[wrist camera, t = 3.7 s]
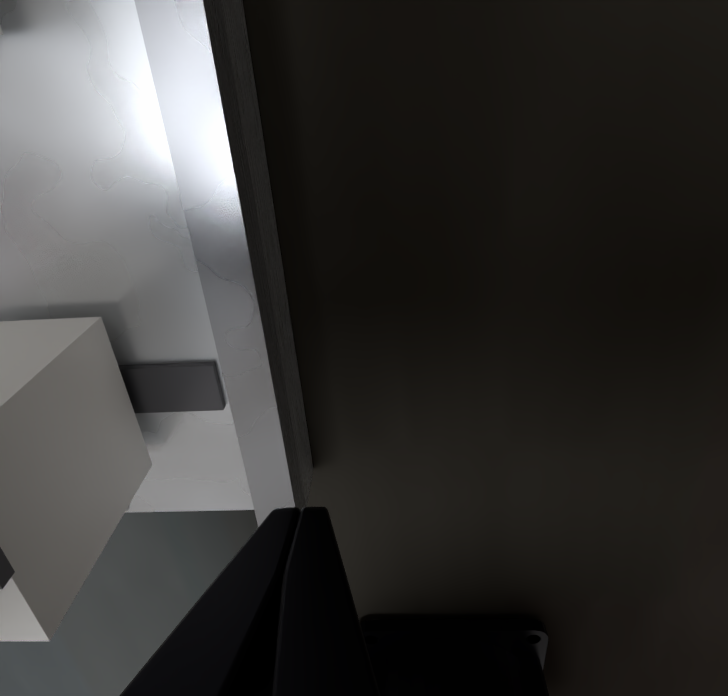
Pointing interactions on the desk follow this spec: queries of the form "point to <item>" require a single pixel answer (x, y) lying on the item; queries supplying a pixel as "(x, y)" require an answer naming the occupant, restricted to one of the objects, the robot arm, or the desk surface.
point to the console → (156, 234)
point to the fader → (59, 465)
